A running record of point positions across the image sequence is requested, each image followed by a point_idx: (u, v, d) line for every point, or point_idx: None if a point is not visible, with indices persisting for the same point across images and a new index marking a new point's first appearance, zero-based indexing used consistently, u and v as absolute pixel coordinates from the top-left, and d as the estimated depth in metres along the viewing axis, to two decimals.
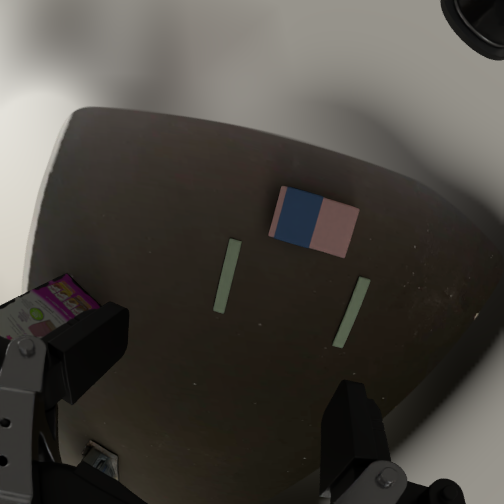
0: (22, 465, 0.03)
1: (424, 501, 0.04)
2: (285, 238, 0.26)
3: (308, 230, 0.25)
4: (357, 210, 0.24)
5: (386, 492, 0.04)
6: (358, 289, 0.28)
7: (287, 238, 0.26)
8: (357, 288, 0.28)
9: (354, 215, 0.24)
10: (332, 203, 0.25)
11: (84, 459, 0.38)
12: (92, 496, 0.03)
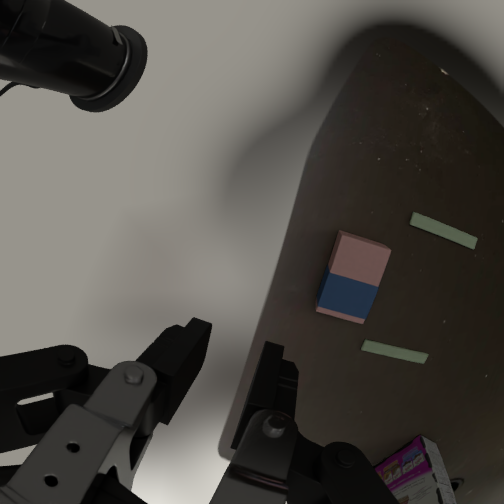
0: (71, 493, 0.03)
1: (321, 470, 0.05)
2: (367, 309, 0.24)
3: (361, 287, 0.24)
4: (343, 237, 0.23)
5: (268, 438, 0.06)
6: (422, 225, 0.24)
7: (367, 307, 0.24)
8: (421, 226, 0.24)
9: (348, 240, 0.23)
10: (335, 263, 0.24)
11: None
12: (92, 496, 0.03)
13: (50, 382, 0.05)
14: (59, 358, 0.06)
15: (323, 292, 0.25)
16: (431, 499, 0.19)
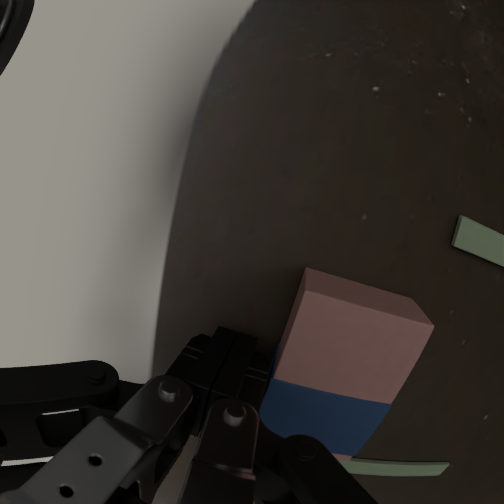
0: None
1: (281, 465, 0.05)
2: (360, 442, 0.09)
3: (352, 407, 0.09)
4: (308, 296, 0.08)
5: (226, 426, 0.06)
6: (479, 246, 0.09)
7: (360, 439, 0.09)
8: (476, 249, 0.09)
9: (323, 305, 0.08)
10: (287, 360, 0.09)
11: None
12: None
13: (75, 399, 0.05)
14: (87, 375, 0.06)
15: None
16: None
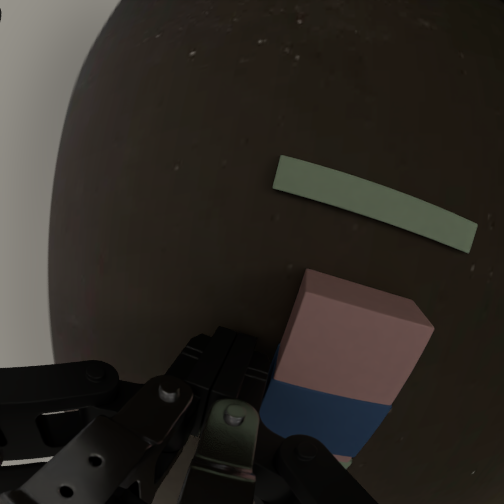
0: None
1: (282, 465, 0.05)
2: (359, 443, 0.09)
3: (352, 408, 0.09)
4: (309, 298, 0.08)
5: (226, 426, 0.06)
6: (310, 188, 0.10)
7: (360, 440, 0.09)
8: (307, 191, 0.10)
9: (323, 307, 0.08)
10: (287, 361, 0.09)
11: None
12: None
13: (75, 399, 0.05)
14: (87, 375, 0.06)
15: None
16: None
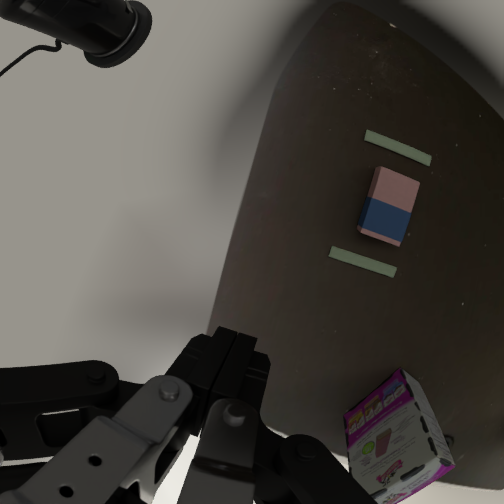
0: None
1: (282, 465, 0.05)
2: (402, 232, 0.27)
3: (397, 212, 0.27)
4: (382, 168, 0.27)
5: (226, 426, 0.06)
6: (376, 140, 0.28)
7: (402, 230, 0.27)
8: (375, 141, 0.28)
9: (386, 171, 0.26)
10: (376, 190, 0.27)
11: None
12: None
13: (75, 399, 0.05)
14: (87, 375, 0.06)
15: (367, 215, 0.28)
16: (415, 428, 0.23)
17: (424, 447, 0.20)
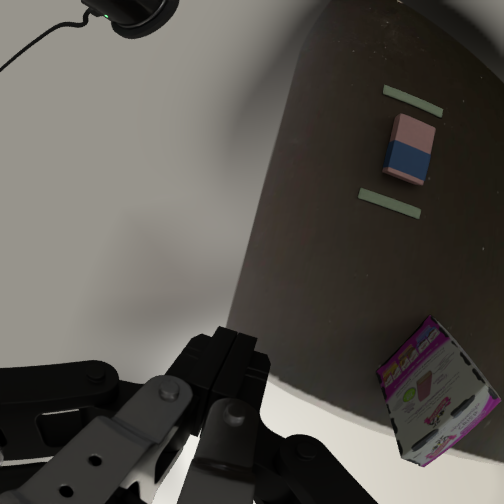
0: None
1: (282, 465, 0.05)
2: (424, 171, 0.28)
3: (418, 153, 0.28)
4: (402, 114, 0.27)
5: (226, 426, 0.06)
6: (393, 94, 0.28)
7: (424, 170, 0.28)
8: (392, 95, 0.28)
9: (405, 117, 0.27)
10: (398, 133, 0.27)
11: None
12: None
13: (75, 399, 0.05)
14: (87, 375, 0.06)
15: (392, 155, 0.28)
16: (456, 363, 0.23)
17: (470, 379, 0.20)
